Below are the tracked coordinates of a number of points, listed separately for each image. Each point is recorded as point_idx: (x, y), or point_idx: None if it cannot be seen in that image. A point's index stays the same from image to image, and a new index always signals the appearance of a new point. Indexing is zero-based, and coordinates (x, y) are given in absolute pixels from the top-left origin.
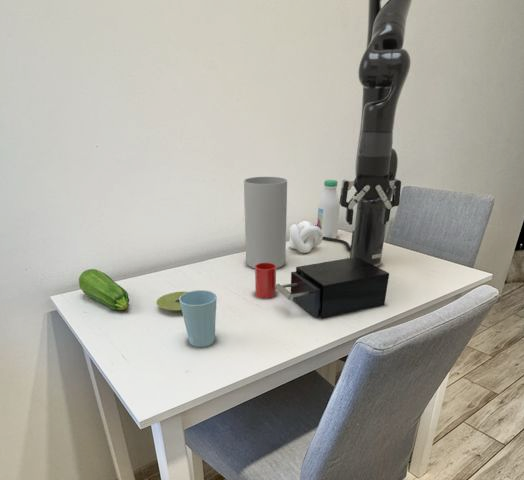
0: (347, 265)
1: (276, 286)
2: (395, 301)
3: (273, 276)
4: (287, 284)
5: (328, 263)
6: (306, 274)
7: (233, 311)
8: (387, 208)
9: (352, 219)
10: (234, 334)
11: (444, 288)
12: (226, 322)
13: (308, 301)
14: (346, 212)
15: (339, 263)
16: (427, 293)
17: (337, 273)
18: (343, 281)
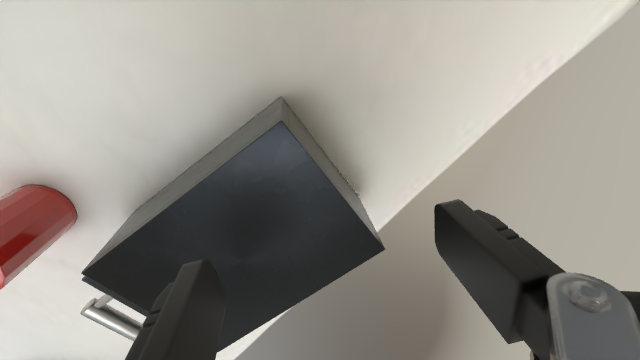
0: (255, 222)
1: (86, 316)
2: (387, 171)
3: (28, 260)
4: (107, 297)
5: (182, 219)
6: (145, 309)
7: (32, 299)
8: (531, 352)
9: (219, 331)
10: (100, 356)
11: (541, 55)
12: (54, 334)
13: None
14: (132, 355)
15: (223, 211)
16: (479, 104)
17: (235, 287)
18: (261, 324)
